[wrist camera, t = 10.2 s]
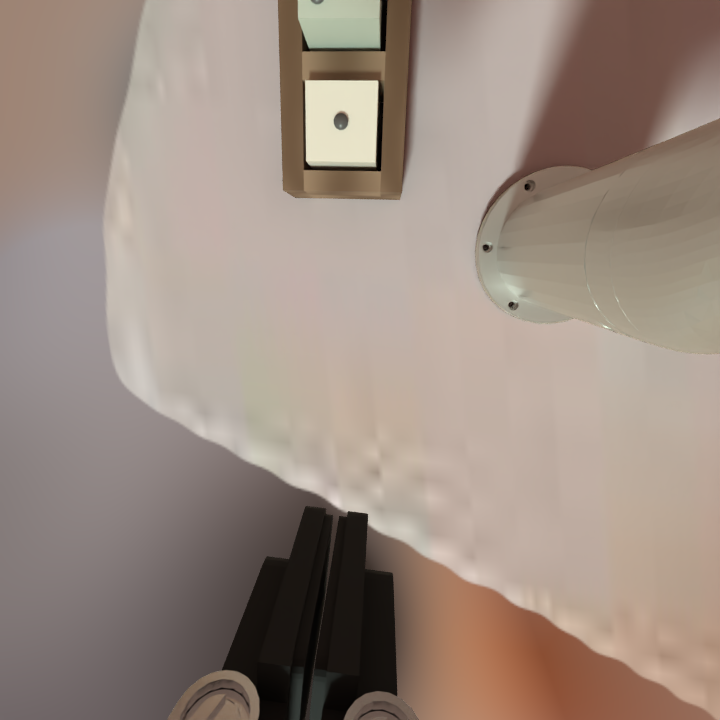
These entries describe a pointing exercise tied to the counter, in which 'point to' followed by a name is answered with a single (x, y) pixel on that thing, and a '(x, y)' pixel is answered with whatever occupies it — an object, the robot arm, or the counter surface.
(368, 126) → the button one
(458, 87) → the counter surface
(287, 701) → the robot arm
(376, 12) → the button two
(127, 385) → the counter surface
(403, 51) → the button board
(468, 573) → the counter surface
